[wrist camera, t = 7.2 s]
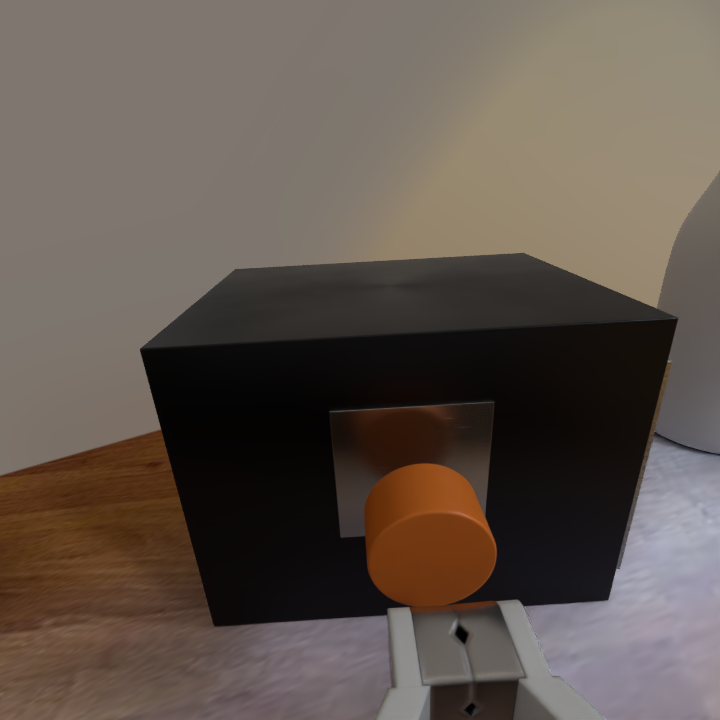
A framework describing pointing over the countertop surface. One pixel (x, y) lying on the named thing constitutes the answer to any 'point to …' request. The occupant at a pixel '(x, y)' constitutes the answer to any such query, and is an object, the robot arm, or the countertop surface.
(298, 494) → the black button box
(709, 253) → the milk bottle
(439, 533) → the button
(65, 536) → the countertop surface
